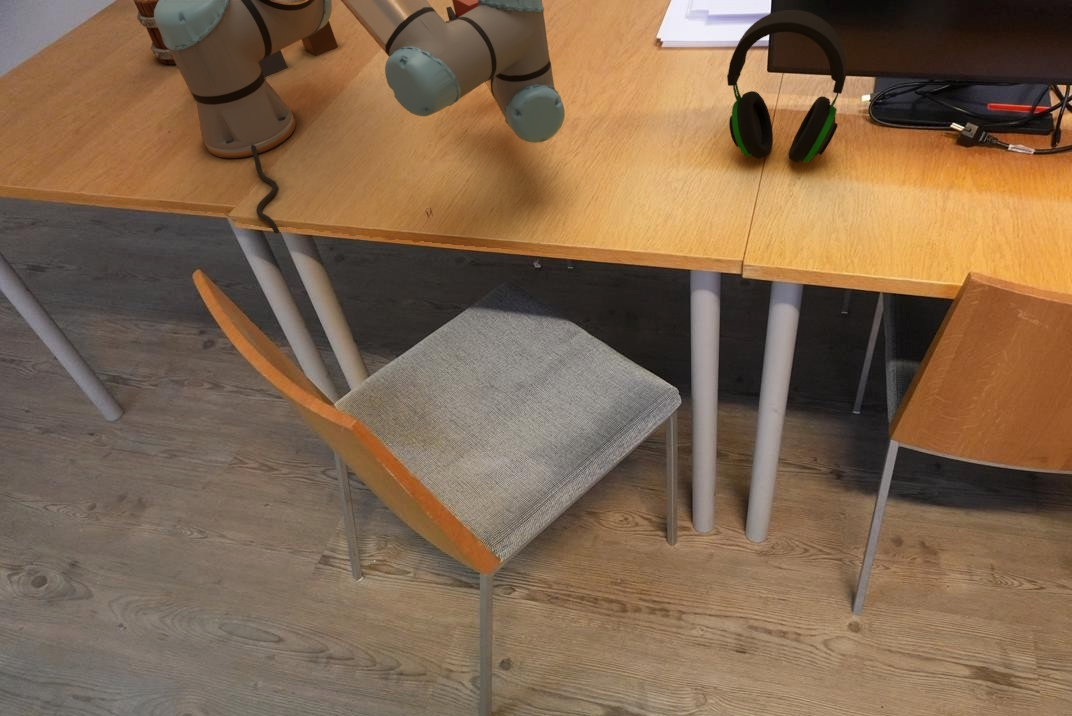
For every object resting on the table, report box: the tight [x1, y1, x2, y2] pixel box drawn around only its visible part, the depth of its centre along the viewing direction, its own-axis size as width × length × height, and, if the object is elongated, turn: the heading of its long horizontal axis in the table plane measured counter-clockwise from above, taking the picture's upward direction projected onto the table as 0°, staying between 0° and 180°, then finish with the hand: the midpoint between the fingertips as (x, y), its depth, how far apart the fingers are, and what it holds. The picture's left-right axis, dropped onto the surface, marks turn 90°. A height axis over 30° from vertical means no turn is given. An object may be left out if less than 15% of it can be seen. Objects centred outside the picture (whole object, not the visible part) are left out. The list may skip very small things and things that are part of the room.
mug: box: [133, 0, 176, 65], centre depth 155 cm, size 12×14×15 cm
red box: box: [451, 0, 479, 18], centre depth 121 cm, size 5×5×10 cm
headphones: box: [726, 9, 848, 163], centre depth 106 cm, size 9×16×20 cm, turn 71°
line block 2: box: [301, 20, 339, 57], centre depth 150 cm, size 5×5×10 cm
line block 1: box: [258, 49, 288, 78], centre depth 146 cm, size 5×5×10 cm
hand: (471, 10), depth 124 cm, fingers closed on red box, 6 cm apart
